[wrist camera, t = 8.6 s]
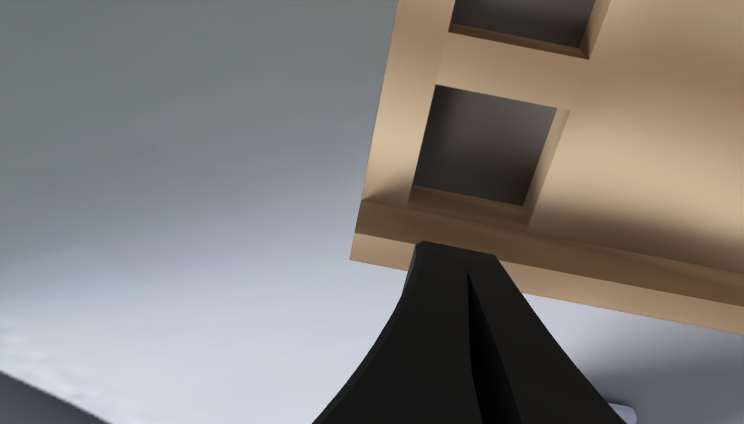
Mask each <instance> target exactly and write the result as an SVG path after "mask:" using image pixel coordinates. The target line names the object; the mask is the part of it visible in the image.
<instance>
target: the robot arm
mask: <svg viewBox="0 0 744 424" xmlns="http://www.w3.org/2000/svg"><path fill="white" fill-rule="evenodd" d="M636 422H637V416H636V414H635V411H634V410H633V409H632V408H631V407H628V406H623V405H618V404H612V403H607V402H606V401H605V400H604V399H603V397H602V396H601V395H600V394H599V393H598V392H597V391H596V389H595V388H594V387H593V386H592V385H591V383H590V382H589V381H588V380H587V379H586V377H585V376H584V375H583V374H582V373H581V371H580V370H579V369H578V368H577V367H576V365H575V364H574V363H573V362H572V361H571V359H570V358H569V357H568V356H567V354H566V353H565V352H564V351H563V349H562V348H561V347H560V345H559V344H558V343H557V342H556V340H555V339H554V338H553V336H552V335H551V334H550V332H549V331H548V330H547V328H546V327H545V326H544V324H543V323H542V322H541V320H540V319H539V317H538V316H537V315H536V313H535V312H534V310H533V309H532V308H531V306H530V305H529V303H528V302H527V301H526V299H525V298H524V296H523V295H522V293H521V292H520V290H519V289H518V288H517V286H516V285H515V283H514V282H513V280H512V279H511V277H510V276H509V274H508V273H507V272H506V270H505V269H504V267H503V266H502V264H501V263H500V261H499V260H498V259H497V257H496V256H495V255H493V254H488V253H483V252H478V251H473V250H468V249H464V248H459V247H454V246H449V245H444V244H439V243H434V242H429V241H424V240H423V241H421V242H419V243H418V244H416V245H415V248H414V251H413V255H412V259H411V262H410V266H409V270H408V273H407V277H406V281H405V284H404V288H403V292H402V295H401V297H400V300H399V302H398V304H397V306H396V308H395V310H394V312H393V313H392V315H391V317H390V319H389V320H388V322H387V324H386V325H385V327H384V329H383V330H382V332H381V333H380V335H379V337H378V338H377V340H376V342H375V343H374V345H373V346H372V348H371V349H370V351H369V352H368V354H367V355H366V357H365V358H364V360H363V361H362V362H361V364H360V365H359V367H358V368H357V369H356V371H355V372H354V373H353V375H352V376H351V377H350V378H349V380H348V381H347V382H346V384H345V385H344V386H343V388H342V389H341V390H340V391H339V392H338V394H337V395H336V396H335V397H334V398H333V400H332V401H331V402H330V403H329V404H328V405H327V407H326V408H325V409H324V410H323V411H322V413H321V414H320V415H319V416H318V417H317V418H316V420H315V421H314V422H313V423H312V424H636Z"/></svg>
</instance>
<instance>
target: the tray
mask: <svg viewBox="0 0 744 424" xmlns="http://www.w3.org/2000/svg"><path fill="white" fill-rule="evenodd" d="M423 240H424V241H429V242H434V243H439V244H444V245H449V246H454V247H459V248H464V249H468V250H473V251H478V252H483V253H488V254H493V255H495V256H496V257H497V259H498V260H499V261H500V263H501V264H502V266H503V267H504V269H505V270H506V272H507V273H508V274H509V276H510V277H511V279H512V280H513V282H514V283H515V285H516V286H517V288H518V289H519V290H520V292H521V293H526V294H531V295H536V296H542V297H547V298H552V299H557V300H563V301H568V302H573V303H578V304H584V305H589V306H594V307H599V308H605V309H610V310H615V311H620V312H626V313H631V314H636V315H641V316H647V317H652V318H657V319H662V320H668V321H673V322H678V323H684V324H689V325H694V326H699V327H705V328H710V329H715V330H720V331H726V332H731V333H736V334H741V335H744V0H399V1H398V6H397V11H396V17H395V22H394V27H393V33H392V38H391V44H390V49H389V54H388V60H387V65H386V70H385V76H384V81H383V86H382V92H381V97H380V102H379V108H378V113H377V119H376V124H375V129H374V135H373V140H372V145H371V151H370V156H369V161H368V167H367V172H366V178H365V183H364V188H363V194H362V199H361V204H360V209H359V214H358V218H357V223H356V228H355V233H354V238H353V244H352V249H351V255H350V260H352V261H358V262H363V263H368V264H373V265H379V266H384V267H389V268H394V269H400V270H405V271H408V270H409V266H410V262H411V259H412V255H413V251H414V248H415V245H416V244H418V243H419V242H421V241H423Z"/></svg>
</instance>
